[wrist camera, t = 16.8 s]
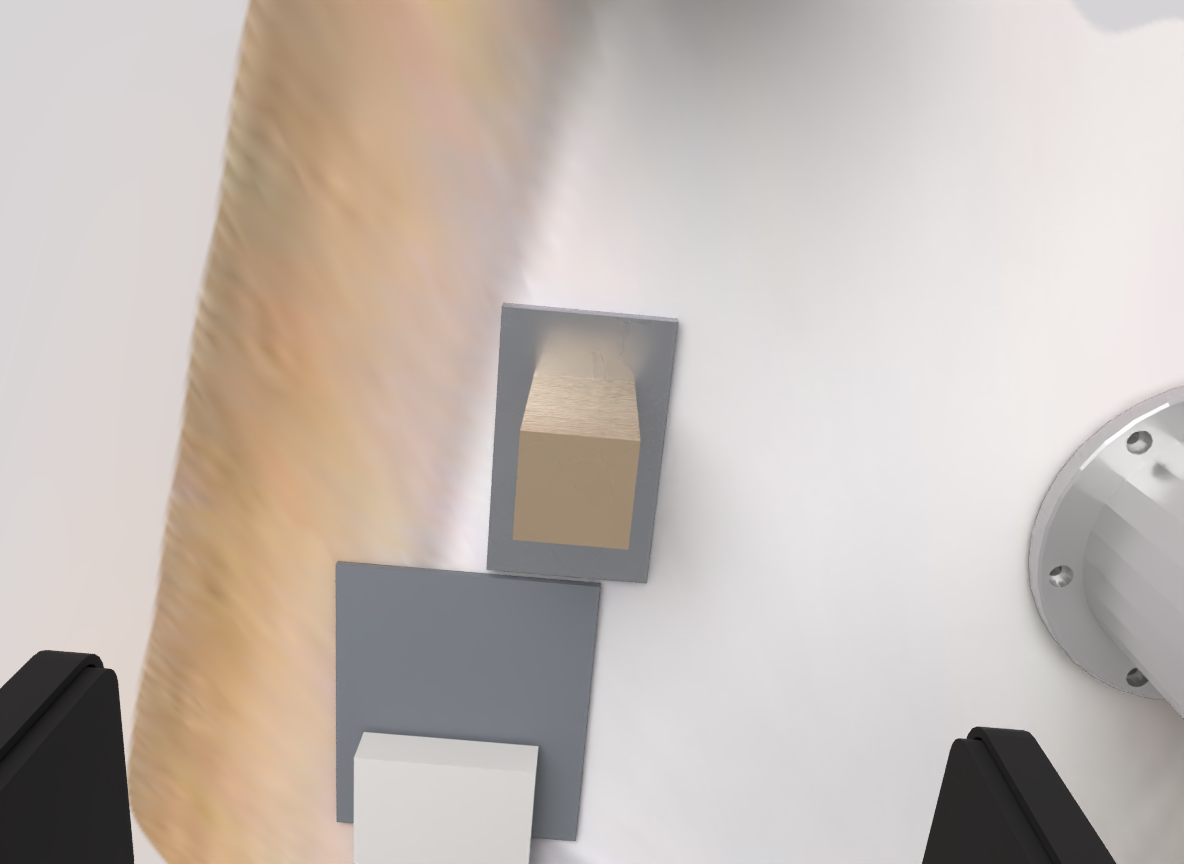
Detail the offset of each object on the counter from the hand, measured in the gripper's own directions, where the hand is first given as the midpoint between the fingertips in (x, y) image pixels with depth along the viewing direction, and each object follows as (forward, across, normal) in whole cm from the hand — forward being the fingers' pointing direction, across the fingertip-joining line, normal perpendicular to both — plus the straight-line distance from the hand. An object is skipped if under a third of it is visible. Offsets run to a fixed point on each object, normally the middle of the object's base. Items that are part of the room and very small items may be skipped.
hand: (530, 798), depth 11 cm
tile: (+23, +4, +18) cm, 29 cm away
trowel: (+25, 0, +4) cm, 25 cm away
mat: (+24, +4, +16) cm, 29 cm away
